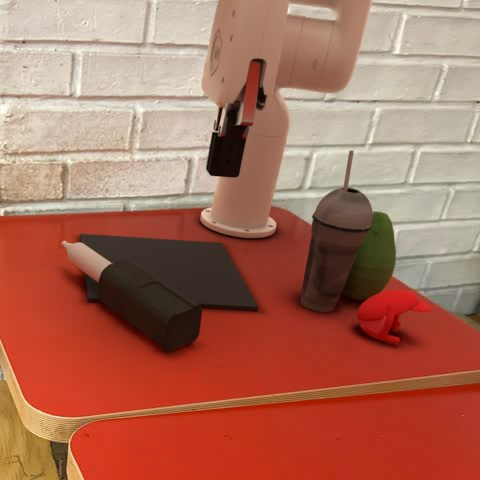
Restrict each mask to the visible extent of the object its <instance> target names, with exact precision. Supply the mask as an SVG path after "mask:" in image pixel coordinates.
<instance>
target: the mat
mask: <svg viewBox="0 0 480 480" xmlns="http://www.w3.org/2000/svg"><path fill="white" fill-rule="evenodd" d="M79 240H80V243H83V244H85V245H86V246H88V247H89V248H90V249H92V250H93V251H95V252H96V253H98V254H99V255H101V256H102V257H103V258H105V259H106V260H108V261H109V262H111V263H112V264H116V262H122V261H125V260H132V261H133V262H135V263H136V264H138V265H139V266H141V267H142V268H144V269H145V270H147V271H148V272H150V273H151V274H153V275H154V276H156V277H157V278H159V279H160V280H162V281H163V282H165V283H166V284H168V285H169V286H171V287H172V288H174V289H175V290H177V291H178V292H180V293H181V294H183V295H184V296H186V297H187V298H189V299H190V300H192V301H193V302H195V303H196V304H198V305H199V306H201V308H202V309H215V310H231V311H232V310H235V311H254V312H258V311H259V305H258V304H257V302H256V299H255V298H254V297H253V295H252V293H251V290H249V287H248V286H247V283H245V281H244V278H243V277H242V276H241V274H240V272H239V270H238V269H237V267H236V265H235V263H234V261H233V259H232V258H231V256H230V255H229V253H228V251H227V249H226V248H225V246H224V244H223V243H222V242H216V241H200V240H185V239H168V238H152V237H137V236H123V235H108V234H107V235H105V234H91V233H90V234H89V233H79ZM83 273H84V280H85V289H86V298H87V302H88V303H100V304H101V303H103V302H102V301H101V300H100V290H99V287H98V282H97V281H96V280H94V279H93V278H92V277H90V276H89V275H87V274H86V273H85V272H83ZM103 304H104V303H103Z"/></svg>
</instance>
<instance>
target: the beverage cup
mask: <svg viewBox="0 0 480 480" xmlns="http://www.w3.org/2000/svg"><path fill="white" fill-rule="evenodd" d="M354 152H355V151H354V150H351V149H350V150H349V152H348V157H347V162H346V163H347V164H346V169H345V175H344V180H343V187H339V188H338V187H337V188H336V189H333V190H332V191H330V192H328V193H326V194H325V195H324V196H323V197H322V198H321V199H320V200H319V202H318V204H317V206H316V208H315V210H314V212H313V214H312V215H311V218H312V222H311V228H310V229H311V231H310V233H311V236H310V242H309V247H308V253H307V258H306V265H305V270H304V275H303V279H302V280H303V281H302V287H301V295H300V304H301V305H302V306H303V307H305V308H306V309H308V310H311V311H315V312H318V313H319V312H320V313H329V312H332V311H334V310H335V308H336V305H337V303H338V301H339V299H340V298H341V296H342V295H341V294H342V290H343V288H344V285H345V283H346V280H347V278H348V276H349V273H350V271H351V268H352V266H353V263H354V261H355V259H356V256H357V254H358V251H359V249H360V247H361V244H362V243H363V242H364V240H365V239H366V237H367V235H368V232H369V230H371V223H372V211H373V207H372V203H371V202H370V200H369V199H368V197H367V196H366V195H365V194H364V193H363V192H362V191H360V190H359V189H356V188H353V187H349V184H350V179H351V177H350V176H351V170H352V165H353V159H354Z"/></svg>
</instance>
